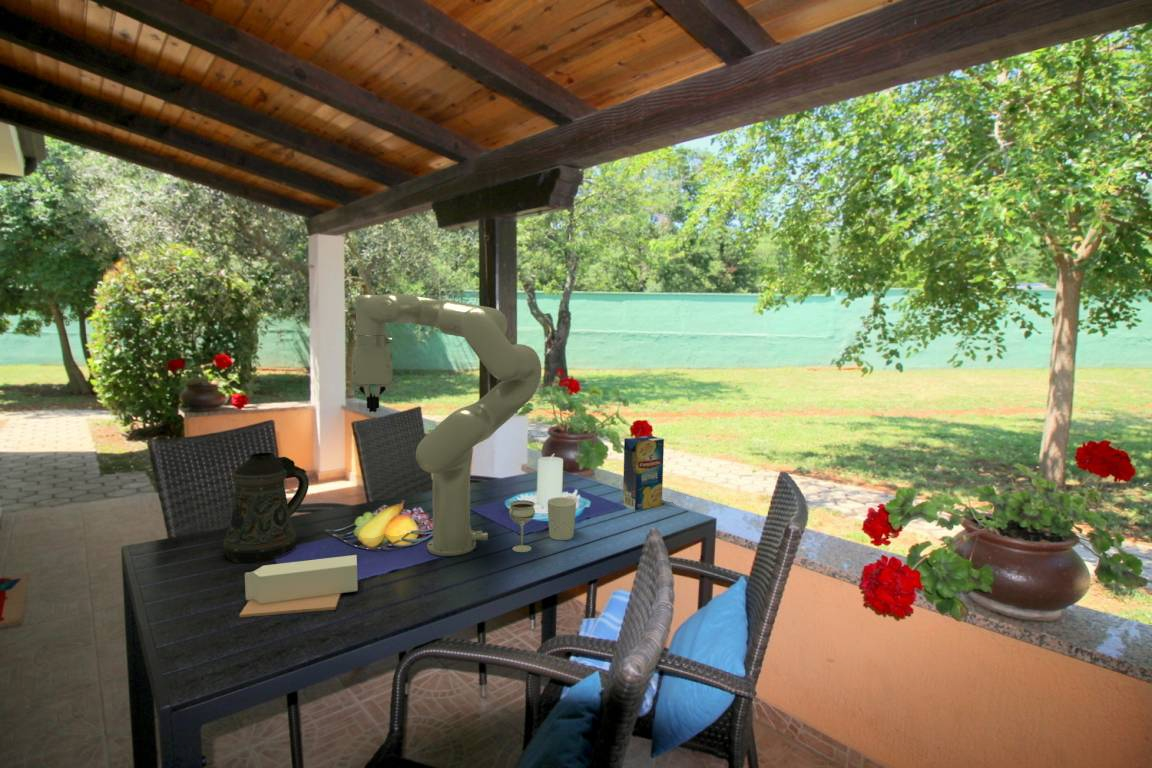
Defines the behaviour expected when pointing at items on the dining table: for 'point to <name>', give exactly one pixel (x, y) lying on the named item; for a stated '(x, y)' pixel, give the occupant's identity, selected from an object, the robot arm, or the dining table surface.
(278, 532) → the beer stein
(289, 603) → the mat
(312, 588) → the milk
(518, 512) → the wineglass
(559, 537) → the beige tumbler cup
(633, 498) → the blue cardboard tall box
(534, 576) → the dining table surface
